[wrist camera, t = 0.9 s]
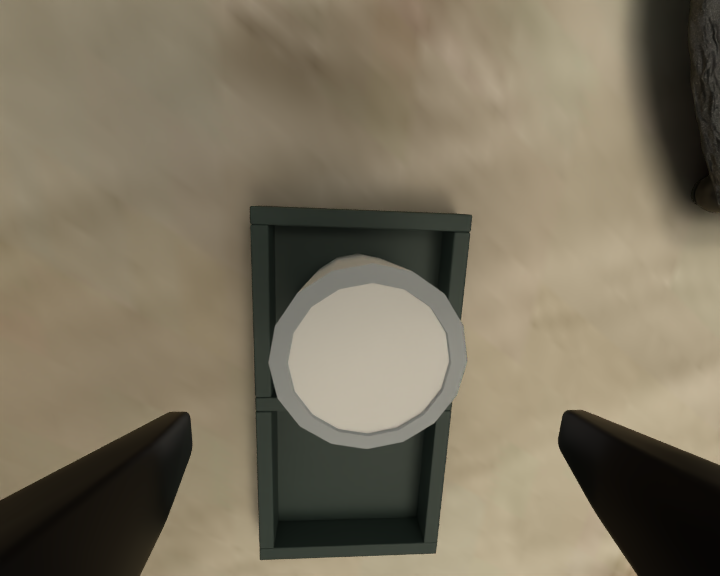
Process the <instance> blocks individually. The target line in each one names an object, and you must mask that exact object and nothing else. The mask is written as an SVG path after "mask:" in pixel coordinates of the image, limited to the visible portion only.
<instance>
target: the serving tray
mask: <svg viewBox="0 0 720 576" xmlns="http://www.w3.org/2000/svg"><path fill="white" fill-rule="evenodd" d="M688 48H689V54H690V60H691V77H690V83H691V88H692V93H693V97H694V105H695V115H696V120H697V123H698V127H699V131H700V139H701V149H702V152H703V154H704V157H705V159H706V162H707V167H708V171H709V175H708V176H707V177H705V178H704V179H702V180H700V181H699V182H697V183H696V184H695V185H694V187H693V189H692V193H691V197H692V200H693V202H694V203H695V204H697V205H699V206H700V207H701V208H703V209H705V210H707V211H710V212H715V213H720V0H690V12H689V22H688Z"/></svg>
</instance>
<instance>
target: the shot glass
mask: <svg viewBox="0 0 720 576" xmlns="http://www.w3.org/2000/svg"><path fill="white" fill-rule="evenodd" d="M268 363H269V367H270V371H271V375H272V379H273V383H274V387H275V391H276V394H277V398H278V400H279V401H280V402H281V403H282V405H283V406H284V407H285V408H286V410H287V411H288V412H289V413H290V415H291V416H292V417H293V418H294V420H295V421H296V422H297V423H298V425H299V426H300V427H302V428H304V429H306V430H307V431H309V432H311V433H313V434H315V435H316V436H318V437H320V438H322V439H324V440H325V441H327V442H329V443H331V444H336V445H343V446H350V447H357V448H363V449H370V448H375V447H380V446H385V445H390V444H395V443H400V442H404V441H405V440H407V439H409V438H410V437H412V436H414V435H415V434H417V433H419V432H420V431H422V430H424V429H425V428H427V427H429V426H430V425H432V424H434V423H435V422H436V420H437V419H438V418H439V417H440V415H441V414H442V413H443V412H444V411H445V409H446V408H447V407H448V406H449V404H450V403H451V402H452V401H453V399H454V398H455V397H456V396H457V393H458V390H459V387H460V383H461V380H462V377H463V374H464V370H465V367H466V364H467V354H466V345H465V336H464V327H463V324H462V322H461V321H460V319H459V317H458V316H457V314H456V312H455V311H454V309H453V307H452V306H451V304H450V302H449V301H448V299H447V297H446V295H445V294H444V293H443V292H441V291H440V290H438V289H437V288H436V287H434V286H433V285H431V284H430V283H428V282H427V281H426V280H424V279H423V278H421V277H420V276H418V275H417V274H416V273H414V272H413V271H410V270H408V269H405V268H403V267H400V266H398V265H395V264H393V263H390V262H388V261H385V260H383V259H381V258H377V257H372V256H368V255H363V254H353V255H348V256H342V257H337V258H336V259H334V260H332V261H331V262H329V263H328V264H326V265H325V266H323V267H322V268H320V269H319V270H318V271H317V272H316V273H315V274H314V275H313V276H312V278H311V279H310V280H309V281H308V282H307V283H306V284H305V285H304V286H303V287H302V289H301V290H300V291H299V292H298V293H297V294H296V296H295V297H294V299H293V300H292V302H291V303H290V305H289V306H288V308H287V309H286V311H285V312H284V314H283V315H282V316H281V318H280V319H279V321H278V322H277V324H276V325H275V329H274V335H273V340H272V346H271V351H270V357H269V362H268Z"/></svg>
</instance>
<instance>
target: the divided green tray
mask: <svg viewBox="0 0 720 576" xmlns="http://www.w3.org/2000/svg"><path fill="white" fill-rule="evenodd" d="M250 223H251V224H252V225H251V226H250V230H251V264H252V299H253V334H254V368H255V396H256V398H255V401H256V438H257V473H258V507H259V542H260V560H272V559H298V558H325V557H352V556H379V555H406V554H433V553H436V547H437V538H438V529H439V519H440V510H441V501H442V492H443V482H444V473H445V464H446V455H447V445H448V436H449V427H450V418H451V407H452V402H451V403H450V404H449V406H448V407H447V408H446V409H445V411H444V412H443V413H442V414H441V415H440V417H439V418H438V419H437V420H436V422H435V423H434V424H432V425H430V426H429V427H427V428H425V429H424V430H422V431H420V432H419V433H417V434H415V435H414V436H412V437H410V438H409V439H407V440H405V441H404V442H400V443H395V444H390V445H385V446H380V447H375V448H370V449H363V448H357V447H350V446H343V445H336V444H331V443H329V442H327V441H325V440H324V439H322V438H320V437H318V436H316V435H315V434H313V433H311V432H309V431H307V430H306V429H304V428H302V427H300V426H299V425H298V423H297V422H296V421H295V420H294V418H293V417H292V416H291V415H290V413H289V412H288V411H287V410H286V408H285V407H284V406H283V405H282V403H281V402H280V401H279V400H278V398H277V394H276V391H275V387H274V383H273V379H272V375H271V371H270V367H269V363H268V362H269V357H270V351H271V346H272V340H273V335H274V329H275V325H276V324H277V322H278V321H279V319H280V318H281V316H282V315H283V314H284V312H285V311H286V309H287V308H288V306H289V305H290V303H291V302H292V300H293V299H294V297H295V296H296V294H297V293H298V292H299V291H300V290H301V289H302V287H303V286H304V285H305V284H306V283H307V282H308V281H309V280H310V279H311V278H312V276H313V275H314V274H315V273H316V272H317V271H318V270H319V269H320V268H322V267H323V266H325V265H326V264H328V263H329V262H331V261H332V260H334V259H336V258H337V257H342V256H348V255H353V254H363V255H368V256H372V257H377V258H381V259H383V260H385V261H388V262H390V263H393V264H395V265H398V266H400V267H403V268H405V269H408V270H410V271H413V272H414V273H416V274H417V275H418V276H420V277H421V278H423V279H424V280H426V281H427V282H428V283H430V284H431V285H433V286H434V287H436V288H437V289H438V290H440V291H441V292H443V293H444V294H445V295H446V297H447V299H448V301H449V302H450V304H451V306H452V307H453V309H454V311H455V312H456V314H457V316H458V317H459V319H460V321H461V314H462V305H463V295H464V286H465V277H466V268H467V259H468V249H469V240H470V233H469V232H470V231H471V223H472V215H468V214H453V213H428V212H402V211H377V210H352V209H327V208H302V207H277V206H250Z"/></svg>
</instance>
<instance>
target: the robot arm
mask: <svg viewBox="0 0 720 576" xmlns="http://www.w3.org/2000/svg"><path fill="white" fill-rule="evenodd" d="M558 444H559V448H560V451H561V452H562V454H563V456H564V458H565V460H566V461H567V463H568V465H569V467H570V469H571V470H572V472H573V474H574V476H575V478H576V479H577V481H578V483H579V485H580V487H581V488H582V490H583V492H584V494H585V496H586V497H587V499H588V501H589V503H590V504H591V506H592V508H593V509H594V511H595V513H596V514H597V516H598V517H599V519H600V520H601V522H602V523H603V525H604V526H605V528H606V529H607V531H608V532H609V534H610V535H611V537H612V538H613V540H614V541H615V543H616V544H617V546H618V547H619V549H620V550H621V552H622V553H623V555H624V556H625V557H626V559H627V560H628V562H629V563H630V565H631V566H632V568H633V569H634V571H635V572H636V574H637V575H638V576H720V465H718V464H716V463H713V462H711V461H708V460H706V459H703V458H701V457H698V456H696V455H693V454H691V453H688V452H686V451H683V450H681V449H678V448H676V447H673V446H671V445H668V444H666V443H663V442H661V441H658V440H656V439H653V438H651V437H648V436H646V435H643V434H641V433H638V432H636V431H634V430H631V429H629V428H626V427H624V426H621V425H619V424H616V423H614V422H611V421H609V420H606V419H604V418H601V417H599V416H596V415H594V414H591V413H589V412H586V411H583V410H567V411H565V412H564V414H563V416H562V421H561V426H560V432H559V437H558ZM191 451H192V432H191V419H190V415H189V414H188V413H187V412H169V413H166V414H165V415H163V416H161V417H159V418H157V419H155V420H153V421H151V422H149V423H147V424H145V425H144V426H142V427H140V428H138V429H136V430H134V431H132V432H130V433H128V434H126V435H124V436H122V437H121V438H119V439H117V440H115V441H113V442H111V443H109V444H107V445H105V446H103V447H101V448H100V449H98V450H96V451H94V452H92V453H90V454H88V455H86V456H84V457H82V458H80V459H79V460H77V461H75V462H73V463H71V464H69V465H67V466H65V467H63V468H61V469H59V470H57V471H56V472H54V473H52V474H50V475H48V476H46V477H44V478H42V479H40V480H38V481H36V482H35V483H33V484H31V485H29V486H27V487H25V488H23V489H21V490H19V491H17V492H15V493H14V494H12V495H10V496H8V497H6V498H4V499H2V500H0V576H140V574H141V572H142V570H143V568H144V566H145V564H146V562H147V560H148V558H149V556H150V554H151V552H152V550H153V548H154V546H155V543H156V541H157V539H158V537H159V535H160V533H161V531H162V529H163V527H164V524H165V522H166V520H167V517H168V515H169V512H170V510H171V507H172V504H173V502H174V499H175V496H176V493H177V491H178V488H179V485H180V483H181V480H182V477H183V474H184V472H185V469H186V466H187V463H188V461H189V458H190V455H191Z"/></svg>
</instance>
